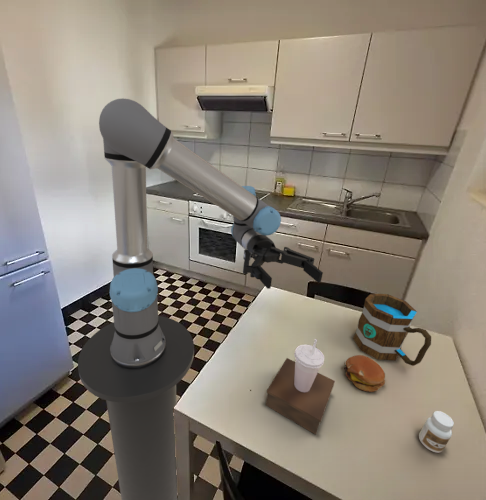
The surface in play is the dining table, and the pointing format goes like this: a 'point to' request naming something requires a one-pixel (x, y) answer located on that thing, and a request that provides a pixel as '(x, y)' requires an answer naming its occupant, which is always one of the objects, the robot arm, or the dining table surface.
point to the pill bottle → (436, 431)
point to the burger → (364, 373)
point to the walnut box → (299, 397)
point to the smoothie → (307, 365)
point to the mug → (387, 328)
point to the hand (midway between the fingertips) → (296, 280)
